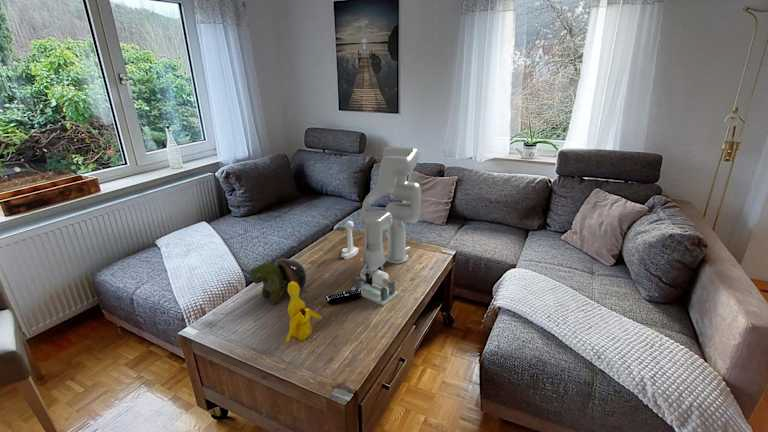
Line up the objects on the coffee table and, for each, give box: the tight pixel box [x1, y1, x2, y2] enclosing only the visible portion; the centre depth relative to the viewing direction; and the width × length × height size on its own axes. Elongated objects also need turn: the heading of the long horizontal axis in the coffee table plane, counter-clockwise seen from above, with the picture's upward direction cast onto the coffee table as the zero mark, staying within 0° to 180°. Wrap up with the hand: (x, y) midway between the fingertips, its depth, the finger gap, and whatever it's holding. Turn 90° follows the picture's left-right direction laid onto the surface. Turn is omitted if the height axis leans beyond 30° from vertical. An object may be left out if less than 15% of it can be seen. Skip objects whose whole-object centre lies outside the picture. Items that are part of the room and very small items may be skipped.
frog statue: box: [250, 258, 307, 305], centre depth 163 cm, size 19×16×25 cm
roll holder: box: [350, 276, 400, 307], centre depth 167 cm, size 11×19×6 cm, turn 52°
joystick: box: [340, 220, 359, 260], centre depth 200 cm, size 11×8×20 cm
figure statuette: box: [285, 281, 323, 343], centre depth 138 cm, size 18×8×22 cm, turn 144°
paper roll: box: [359, 267, 390, 287], centre depth 165 cm, size 7×15×7 cm, turn 52°
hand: (374, 280), depth 165 cm, fingers closed on paper roll, 6 cm apart
